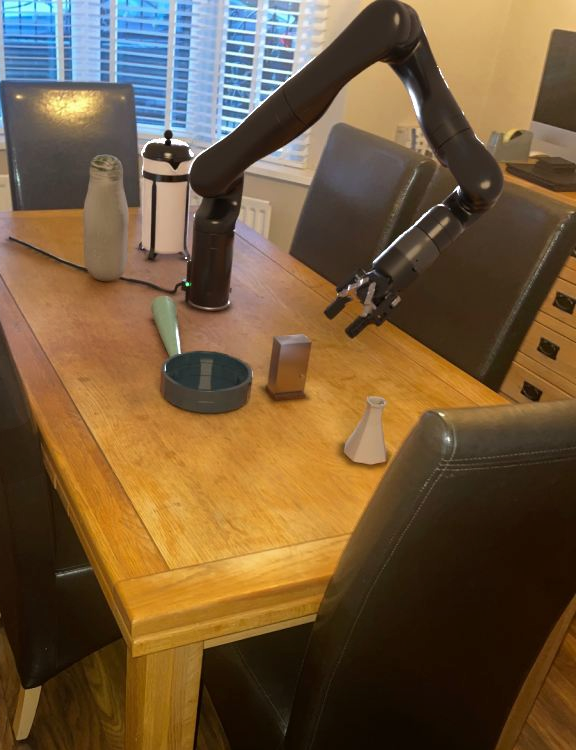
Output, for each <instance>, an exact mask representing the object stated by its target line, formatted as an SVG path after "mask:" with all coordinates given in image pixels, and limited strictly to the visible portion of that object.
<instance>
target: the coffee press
mask: <svg viewBox="0 0 576 750" xmlns="http://www.w3.org/2000/svg"><path fill="white" fill-rule="evenodd" d="M173 136H174V134H173V131H172V130H171V129H166V130H165V131H164V132H163V137H164V138H161V139H160V138H159V139H153V140H151V141H148V142H147V143H146V144H145V145H144V147H143V149H142V151H141V157H142V167H141V176H142V196H141V197H142V198H141V200H142V204H141V205H142V206H141V241H140V243H138V248H139V249H140V250H144V249H145V250H146V251H148V254H147V260H148V261H155V259H156V257H157V255H175V254H179V255H180V256H181V258H183V260H189V259H190V258H191V254H190V251H189V250H188V237H189V235H188V233H189V220H190V218H189V217H190V200H191V199H190V197H191V186H190V182H189V170H190V167H191V165H192V163H193V161H194V153H193V150H192V148H191V146H190V145H188V144H187V143H186V142H183V141H181V140H178V139H173Z"/></svg>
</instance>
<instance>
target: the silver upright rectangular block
mask: <svg viewBox="0 0 576 750" xmlns="http://www.w3.org/2000/svg"><path fill="white" fill-rule="evenodd" d="M312 343H313V342H312V340H311V339H310V338H309V337H308V336H307V335H306V334H304V333H301V334H285V335H275V336H273V339H272V344H271V345H272V346H271V355H270V363H269V370H268V376H267V378H268V379H267V384H265V387H264V388H265V390H266V391H267V392H268V394H269V395H270V397H271V398H272V399H274V401H285V400H295V399H304V398H306V392H305V388H306V381H307V375H308V370H309V369H308V368H309V361H310V356H311V349H312Z"/></svg>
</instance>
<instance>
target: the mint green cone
mask: <svg viewBox="0 0 576 750" xmlns="http://www.w3.org/2000/svg"><path fill="white" fill-rule="evenodd" d="M150 312H151V315H152V317H153V320H154V323H155V325H156V328H157V330H158V333H159V335H160V338H161V341H162V343H163V345H164V347H165V349H166V350H165V351H166V352H167V354H168V358H170V357H172V356H174V355H176V354H180V353H182V346H181V339H180V329H179V321H178V320H179V319H178V312H177V308H176V302H175V301H174V299H173V298H171V297H170V296H168V295H160V296H157V297H155V298H154V299H153V301H152V302H151V304H150Z"/></svg>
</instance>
